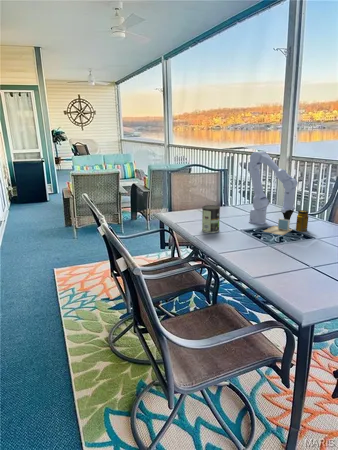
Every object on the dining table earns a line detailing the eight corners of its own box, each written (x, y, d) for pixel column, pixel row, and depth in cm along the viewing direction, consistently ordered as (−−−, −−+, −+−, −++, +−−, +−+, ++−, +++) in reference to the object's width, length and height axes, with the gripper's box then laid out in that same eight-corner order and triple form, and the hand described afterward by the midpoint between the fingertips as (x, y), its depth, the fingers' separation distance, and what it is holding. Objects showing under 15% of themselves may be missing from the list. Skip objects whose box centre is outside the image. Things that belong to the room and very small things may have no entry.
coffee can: (219, 228, 193) (220, 205, 189) (218, 233, 183) (219, 209, 179) (202, 227, 195) (203, 204, 191) (200, 232, 185) (201, 208, 181)
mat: (262, 232, 184) (262, 231, 184) (273, 226, 194) (273, 225, 194) (282, 236, 176) (282, 235, 176) (292, 230, 186) (293, 229, 186)
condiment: (292, 229, 187) (294, 210, 184) (305, 228, 189) (307, 209, 185) (299, 233, 181) (301, 213, 177) (313, 232, 182) (315, 212, 179)
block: (277, 228, 188) (278, 218, 186) (278, 227, 189) (279, 218, 187) (287, 230, 184) (288, 220, 182) (288, 229, 185) (289, 219, 184)
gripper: (290, 202, 177) (288, 226, 181) (300, 198, 187) (298, 220, 191) (278, 201, 182) (276, 224, 185) (288, 196, 192) (286, 218, 196)
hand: (286, 222), depth 189 cm, fingers closed
